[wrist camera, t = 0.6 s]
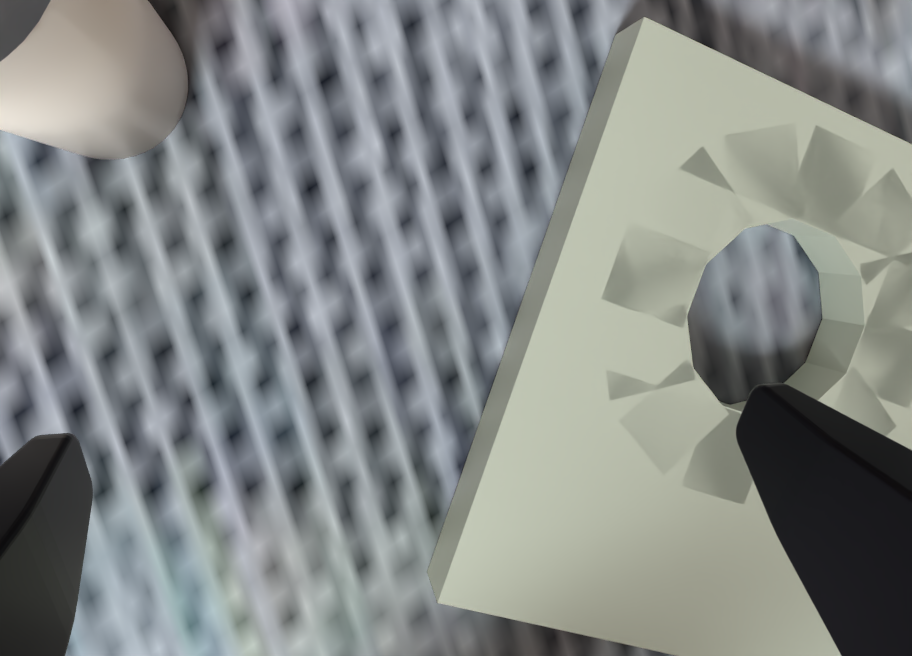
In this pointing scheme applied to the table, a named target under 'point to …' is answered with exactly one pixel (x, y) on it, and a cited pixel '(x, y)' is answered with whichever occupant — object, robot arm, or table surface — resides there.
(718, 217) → the socket plate
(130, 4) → the plug
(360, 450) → the table surface
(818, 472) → the robot arm
